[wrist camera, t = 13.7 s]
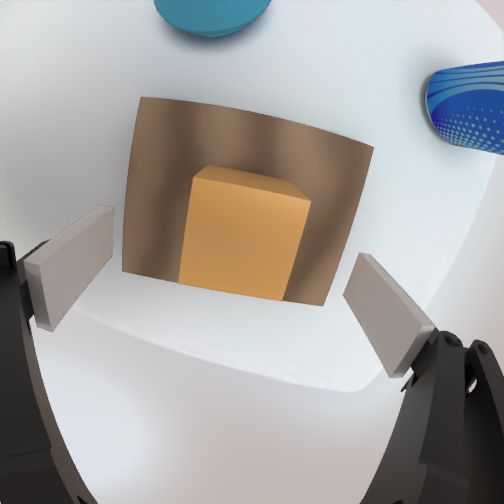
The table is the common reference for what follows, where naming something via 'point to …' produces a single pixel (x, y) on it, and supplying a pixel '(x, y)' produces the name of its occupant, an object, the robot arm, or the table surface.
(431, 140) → the table surface
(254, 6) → the perfume bottle
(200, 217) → the wooden toy cube
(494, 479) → the robot arm
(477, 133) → the beer can
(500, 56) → the table surface
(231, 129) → the post board
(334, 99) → the table surface
